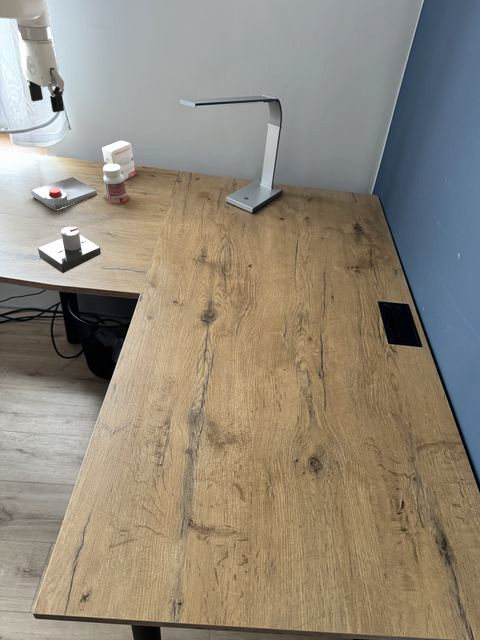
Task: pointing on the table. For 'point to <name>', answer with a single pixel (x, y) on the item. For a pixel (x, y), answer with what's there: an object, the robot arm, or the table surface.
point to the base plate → (68, 254)
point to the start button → (55, 192)
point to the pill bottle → (114, 184)
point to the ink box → (120, 157)
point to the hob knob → (71, 238)
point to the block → (64, 193)
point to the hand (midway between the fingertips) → (47, 105)
